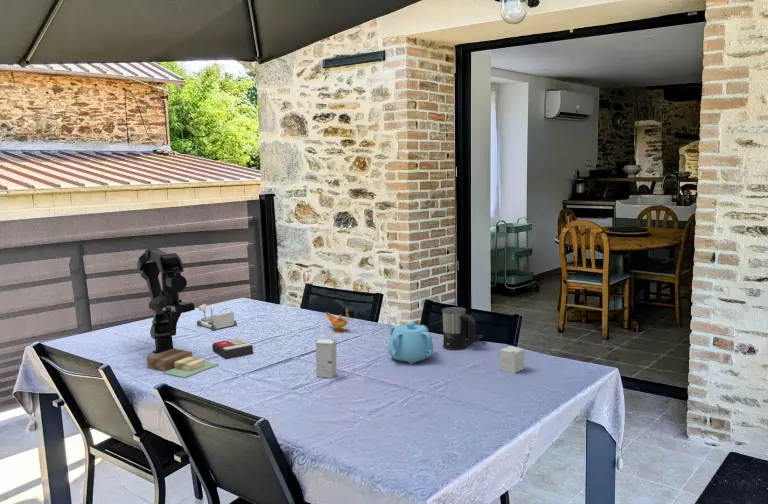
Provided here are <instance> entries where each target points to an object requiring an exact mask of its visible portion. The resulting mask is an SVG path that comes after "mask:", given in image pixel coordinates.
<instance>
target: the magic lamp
mask: <svg viewBox="0 0 768 504" xmlns="http://www.w3.org/2000/svg"><path fill="white" fill-rule="evenodd" d="M345 312H346V314H345V318H344V317H343V315H342V314H339V316H338V317H335V316H334V315H332V314H331V313H330V312H328V311H325V312H324V313H325V315H326V316H327V318H328V320H329V322H330V323H331V324H330V325H332V326H333V327H335V328H336V329H334V330H333V332H334V331H335V332H334V333H337V332H340V333H344V332H343V331H345V332H346V330H345V329H344V328H347V324H348V322H349V321H350V315H349V308H345ZM347 317H348V319H347ZM346 319H347V320H346Z"/></svg>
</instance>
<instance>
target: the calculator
mask: <svg viewBox="0 0 768 504" xmlns="http://www.w3.org/2000/svg"><path fill="white" fill-rule="evenodd" d="M211 346H212V352H214V353H216V354H217V355H219V356H221V357H222V358H223V359H225V360H230V359H234V358H235V359H236V358H241V357H245V356H251V355H254V347H253V344H251V343H249V342H248V343H247V341H245V340H242V339H241V338H233V339H227V340H222V341H215V342H213V344H212V345H211Z"/></svg>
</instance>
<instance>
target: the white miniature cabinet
mask: <svg viewBox="0 0 768 504" xmlns="http://www.w3.org/2000/svg"><path fill="white" fill-rule="evenodd" d="M315 363H316V364H315V369H316V370H315V375H316V377H319V378H327V379H330V378H331V379H333V378H334V377H335V376H336V375H337V340H336V339H323V338H320V339H319V340H317V341H316V342H315Z"/></svg>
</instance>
